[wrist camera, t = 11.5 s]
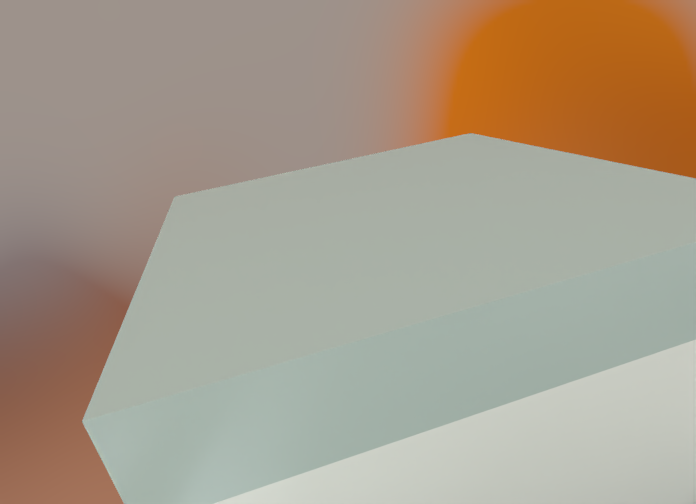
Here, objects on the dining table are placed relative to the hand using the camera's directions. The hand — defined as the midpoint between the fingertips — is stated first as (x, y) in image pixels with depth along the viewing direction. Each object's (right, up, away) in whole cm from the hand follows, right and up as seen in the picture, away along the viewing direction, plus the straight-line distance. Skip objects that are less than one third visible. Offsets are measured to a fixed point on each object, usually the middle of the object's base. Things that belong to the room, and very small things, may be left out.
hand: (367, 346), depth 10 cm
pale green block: (+2, -6, 0) cm, 6 cm away
